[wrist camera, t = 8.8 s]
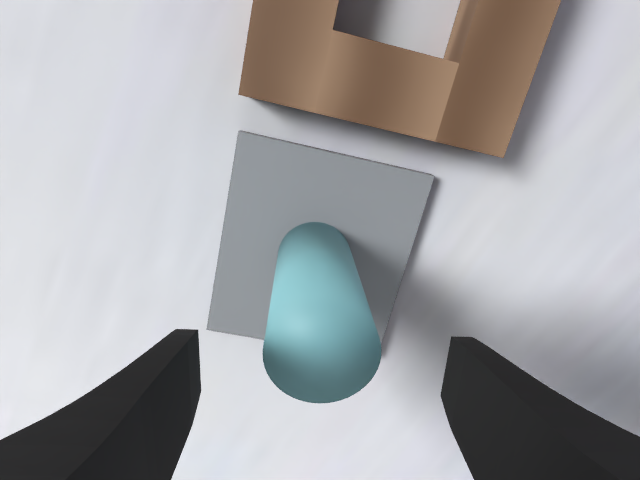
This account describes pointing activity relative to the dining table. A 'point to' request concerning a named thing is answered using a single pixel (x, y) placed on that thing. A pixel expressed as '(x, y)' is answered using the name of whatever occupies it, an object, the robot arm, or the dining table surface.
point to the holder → (402, 70)
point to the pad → (311, 206)
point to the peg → (319, 319)
